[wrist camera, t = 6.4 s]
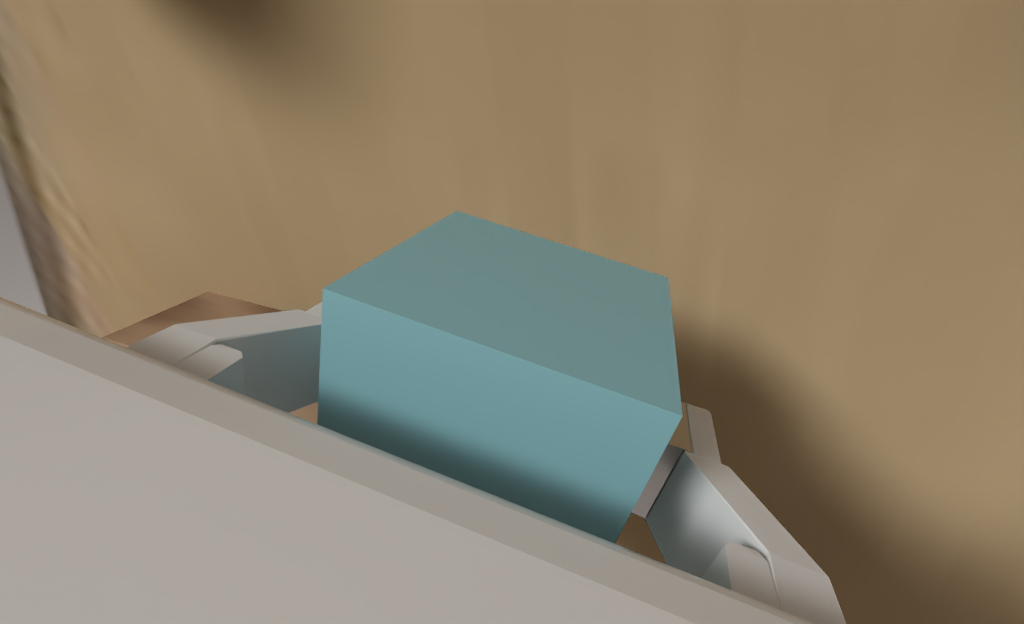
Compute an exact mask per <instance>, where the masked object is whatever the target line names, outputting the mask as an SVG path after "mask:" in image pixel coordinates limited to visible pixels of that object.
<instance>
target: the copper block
mask: <svg viewBox="0 0 1024 624" xmlns="http://www.w3.org/2000/svg"><path fill="white" fill-rule="evenodd" d="M273 312H281V310H277V309H273V308H269V307H265V306H261V305H257V304H253V303H249V302H245V301H241V300H237V299H234V298H230V297H226V296H222V295H218V294H214V293H210V292H206V293H204V294H202V295H200V296H197V297H195V298H193V299H190V300H188V301H186V302H183V303H181V304H179V305H177V306H174V307H172V308H170V309H167V310H165V311H163V312H160V313H158V314H156V315H154V316H151V317H149V318H147V319H144V320H142V321H140V322H137V323H135V324H133V325H131V326H128V327H126V328H124V329H121V330H119V331H117V332H114V333H112V334H110V335H107V336H105V337H103V339H106V340H108V341H111V342H113V343H116V344H118V345H121V346H123V347H128V346H130V345H132V344H134V343H136V342H138V341H140V340H142V339H145V338H147V337H149V336H151V335H153V334H155V333H157V332H159V331H162V330H164V329H166V328H168V327H170V326H172V325H174V324H180V323H189V322H197V321H205V320H214V319H222V318H231V317H239V316H248V315H256V314H264V313H273ZM290 414H293V415H295V416H298V417H300V418H303V419H305V420H308V421H310V422H313V423H315V424H317V417H318V402H316V403H313V404H311V405H308V406H305V407H303V408H300V409H297V410H295V411H292V412H290Z"/></svg>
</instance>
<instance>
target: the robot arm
mask: <svg viewBox="0 0 1024 624" xmlns="http://www.w3.org/2000/svg"><path fill="white" fill-rule="evenodd" d="M321 323H322V302H320V303H319V304H317V305H316V306H314V307H312V308H311V309H309V310H307V311H306V312H305V311H302V310H299V309H298V310H290V311H281V312H273V313H264V314H256V315H248V316H239V317H231V318H222V319H214V320H205V321H197V322H189V323H180V324H174V325H172V326H170V327H168V328H166V329H164V330H162V331H159V332H157V333H155V334H153V335H151V336H149V337H147V338H145V339H142V340H140V341H138V342H136V343H134V344H132V345H130V346H128V347H123V346H121V345H118V344H116V343H113V342H111V341H108V340H106V339H103V338H101V337H98V336H96V335H93V334H91V333H88V332H86V331H83V330H81V329H78V328H76V327H73V326H71V325H68V324H66V323H63V322H61V321H58V320H56V319H53V318H51V317H48V316H46V315H43V314H41V313H38V312H36V311H33V310H31V309H28V308H26V307H23V306H21V305H18V304H16V303H13V302H11V301H8V300H6V299H3V298H1V297H0V624H846V621H845V619H844V616H843V613H842V611H841V608H840V605H839V603H838V600H837V597H836V595H835V592H834V589H833V587H832V584H831V581H830V579H829V577H828V576H827V575H826V574H825V572H824V571H823V570H822V569H821V568H820V567H819V566H818V565H817V564H816V562H815V561H814V560H813V559H812V558H811V557H810V556H809V555H808V554H807V552H806V551H805V550H804V549H803V548H802V547H801V546H800V545H799V544H798V543H797V541H796V540H795V539H794V538H793V537H792V536H791V535H790V534H789V533H788V531H787V530H786V529H785V528H784V527H783V526H782V525H781V524H780V523H779V521H778V520H777V519H776V518H775V517H774V516H773V515H772V514H771V513H770V512H769V510H768V509H767V508H766V507H765V506H764V505H763V504H762V503H761V502H760V500H759V499H758V498H757V497H756V496H755V495H754V494H753V493H752V492H751V490H750V489H749V488H748V487H747V486H746V485H745V484H744V483H743V482H742V480H741V479H740V478H739V477H738V476H737V475H736V474H735V473H734V472H733V471H732V469H731V468H730V467H728V466H726V465H723V464H721V459H720V454H719V450H718V445H717V440H716V435H715V430H714V426H713V421H712V416H711V413H710V412H709V411H708V410H707V409H703V408H700V407H697V406H694V405H690V404H687V403H684V402H681V406H682V415H683V416H682V418H681V420H680V422H679V424H678V426H677V427H676V429H675V431H674V433H673V435H672V437H671V439H670V441H669V443H668V444H667V446H666V448H665V450H664V452H663V454H662V456H661V458H660V459H659V461H658V463H657V465H656V467H655V469H654V471H653V473H652V475H651V476H650V478H649V480H648V482H647V484H646V486H645V488H644V490H643V492H642V493H641V495H640V497H639V499H638V501H637V503H636V505H635V507H634V508H633V510H632V513H634V514H636V515H639V516H641V517H644V518H646V520H645V521H646V523H647V525H648V527H649V529H650V531H651V533H652V535H653V537H654V539H655V541H656V543H657V545H658V547H659V549H660V551H661V553H662V555H663V558H664V560H665V562H666V564H664V563H662V562H659V561H657V560H654V559H652V558H649V557H647V556H644V555H642V554H639V553H637V552H634V551H632V550H629V549H627V548H624V547H622V546H619V545H617V544H614V543H612V542H609V541H607V540H604V539H602V538H599V537H597V536H594V535H592V534H589V533H587V532H584V531H582V530H579V529H577V528H574V527H572V526H569V525H567V524H564V523H562V522H559V521H557V520H554V519H552V518H549V517H547V516H544V515H542V514H539V513H537V512H534V511H532V510H529V509H527V508H524V507H522V506H519V505H517V504H514V503H512V502H509V501H507V500H504V499H502V498H499V497H497V496H495V495H492V494H490V493H487V492H485V491H482V490H480V489H477V488H475V487H472V486H470V485H467V484H465V483H462V482H460V481H457V480H455V479H452V478H450V477H447V476H445V475H442V474H440V473H437V472H435V471H432V470H430V469H427V468H425V467H422V466H420V465H417V464H415V463H412V462H410V461H407V460H405V459H402V458H400V457H397V456H395V455H392V454H390V453H387V452H385V451H382V450H380V449H377V448H375V447H372V446H370V445H367V444H365V443H362V442H360V441H357V440H355V439H352V438H350V437H347V436H345V435H343V434H340V433H338V432H335V431H333V430H330V429H328V428H325V427H323V426H320V425H318V424H315V423H313V422H310V421H308V420H305V419H303V418H300V417H298V416H295V415H293V414H290V412H292V411H295V410H297V409H300V408H303V407H305V406H308V405H311V404H313V403H316V402H318V394H319V370H320V347H321Z"/></svg>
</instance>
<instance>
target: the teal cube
mask: <svg viewBox="0 0 1024 624" xmlns="http://www.w3.org/2000/svg"><path fill="white" fill-rule="evenodd" d="M682 416H683V415H682V406H681V396H680V386H679V377H678V367H677V358H676V348H675V339H674V329H673V319H672V310H671V300H670V291H669V281H668V278H667V277H664V276H661V275H658V274H655V273H651V272H648V271H645V270H642V269H639V268H636V267H633V266H629V265H626V264H623V263H620V262H617V261H614V260H610V259H607V258H604V257H601V256H598V255H595V254H591V253H588V252H585V251H582V250H579V249H576V248H572V247H569V246H566V245H563V244H560V243H557V242H553V241H550V240H547V239H544V238H541V237H538V236H534V235H531V234H528V233H525V232H522V231H519V230H515V229H512V228H509V227H506V226H503V225H500V224H496V223H493V222H490V221H487V220H484V219H481V218H477V217H474V216H471V215H468V214H465V213H462V212H458V211H456V212H454V213H452V214H450V215H449V216H447V217H445V218H443V219H442V220H440V221H438V222H437V223H435V224H433V225H431V226H430V227H428V228H426V229H425V230H423V231H421V232H419V233H418V234H416V235H414V236H412V237H411V238H409V239H407V240H406V241H404V242H402V243H400V244H399V245H397V246H395V247H393V248H392V249H390V250H388V251H387V252H385V253H383V254H381V255H380V256H378V257H376V258H375V259H373V260H371V261H369V262H368V263H366V264H364V265H362V266H361V267H359V268H357V269H356V270H354V271H352V272H350V273H349V274H347V275H345V276H343V277H342V278H340V279H338V280H337V281H335V282H333V283H331V284H330V285H328V286H326V287H325V288H323V299H322V323H321V347H320V370H319V394H318V417H317V424H318V425H320V426H323V427H325V428H328V429H330V430H333V431H335V432H338V433H340V434H343V435H345V436H347V437H350V438H352V439H355V440H357V441H360V442H362V443H365V444H367V445H370V446H372V447H375V448H377V449H380V450H382V451H385V452H387V453H390V454H392V455H395V456H397V457H400V458H402V459H405V460H407V461H410V462H412V463H415V464H417V465H420V466H422V467H425V468H427V469H430V470H432V471H435V472H437V473H440V474H442V475H445V476H447V477H450V478H452V479H455V480H457V481H460V482H462V483H465V484H467V485H470V486H472V487H475V488H477V489H480V490H482V491H485V492H487V493H490V494H492V495H495V496H497V497H499V498H502V499H504V500H507V501H509V502H512V503H514V504H517V505H519V506H522V507H524V508H527V509H529V510H532V511H534V512H537V513H539V514H542V515H544V516H547V517H549V518H552V519H554V520H557V521H559V522H562V523H564V524H567V525H569V526H572V527H574V528H577V529H579V530H582V531H584V532H587V533H589V534H592V535H594V536H597V537H599V538H602V539H604V540H607V541H609V542H612V543H614V544H615V542H616V541H617V539H618V537H619V535H620V533H621V531H622V529H623V527H624V525H625V524H626V522H627V520H628V518H629V516H630V514H631V512H632V510H633V508H634V507H635V505H636V503H637V501H638V499H639V497H640V495H641V493H642V492H643V490H644V488H645V486H646V484H647V482H648V480H649V478H650V476H651V475H652V473H653V471H654V469H655V467H656V465H657V463H658V461H659V459H660V458H661V456H662V454H663V452H664V450H665V448H666V446H667V444H668V443H669V441H670V439H671V437H672V435H673V433H674V431H675V429H676V427H677V426H678V424H679V422H680V420H681V418H682Z"/></svg>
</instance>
